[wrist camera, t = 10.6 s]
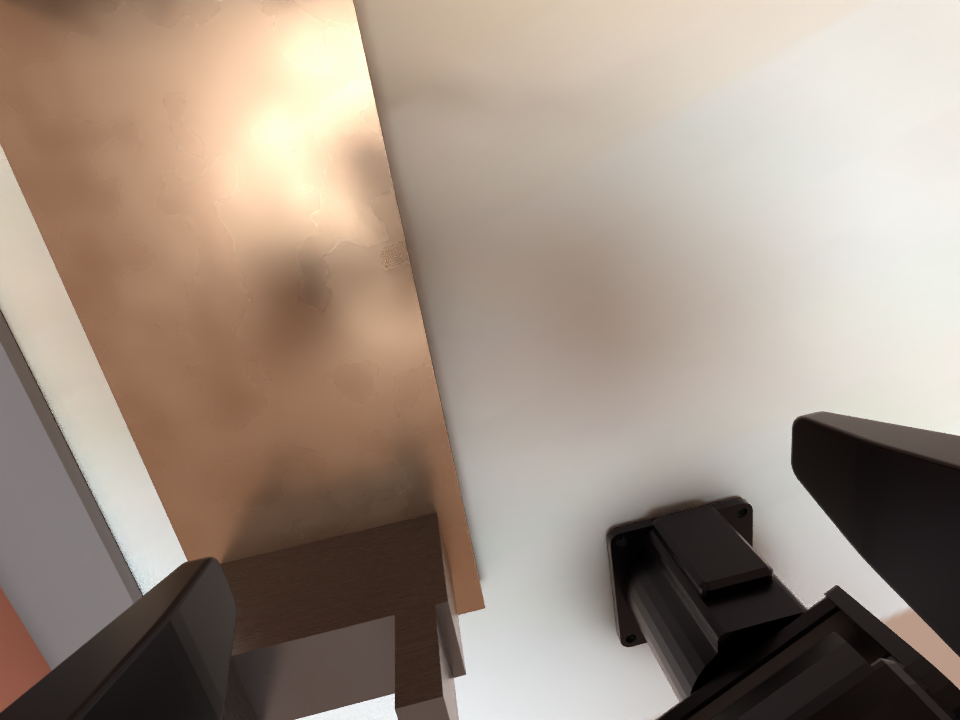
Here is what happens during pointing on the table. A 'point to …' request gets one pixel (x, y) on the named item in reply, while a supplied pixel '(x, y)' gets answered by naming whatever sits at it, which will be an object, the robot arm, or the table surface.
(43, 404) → the slate mat
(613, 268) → the table surface
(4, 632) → the rail
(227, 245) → the rail rack
